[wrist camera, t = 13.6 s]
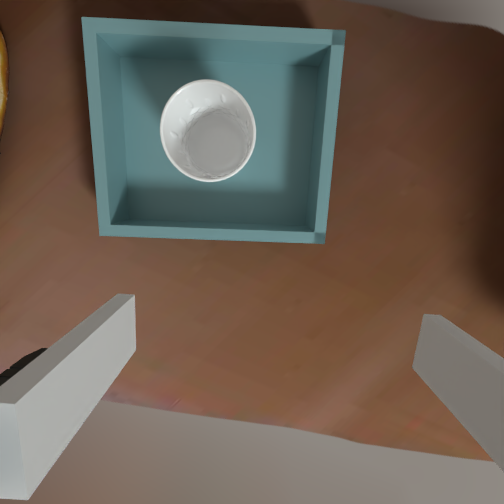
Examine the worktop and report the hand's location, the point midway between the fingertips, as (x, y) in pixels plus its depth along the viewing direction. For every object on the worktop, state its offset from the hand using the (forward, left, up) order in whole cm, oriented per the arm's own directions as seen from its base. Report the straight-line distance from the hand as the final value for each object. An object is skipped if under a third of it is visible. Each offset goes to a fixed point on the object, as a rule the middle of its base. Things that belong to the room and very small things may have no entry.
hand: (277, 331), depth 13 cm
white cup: (+5, -11, -24) cm, 26 cm away
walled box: (+5, -11, -24) cm, 27 cm away
